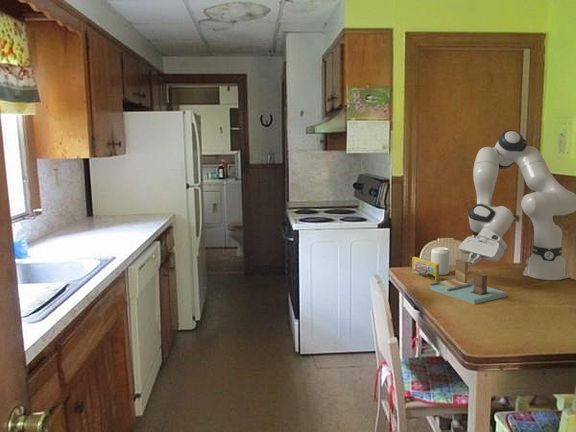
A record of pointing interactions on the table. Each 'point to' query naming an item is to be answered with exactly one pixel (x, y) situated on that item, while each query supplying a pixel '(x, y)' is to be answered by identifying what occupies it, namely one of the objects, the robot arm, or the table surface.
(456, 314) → the table surface
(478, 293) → the walnut block
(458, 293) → the puzzle board
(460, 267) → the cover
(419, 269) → the candy box
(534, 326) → the table surface
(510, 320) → the table surface
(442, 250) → the beverage can
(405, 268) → the table surface
